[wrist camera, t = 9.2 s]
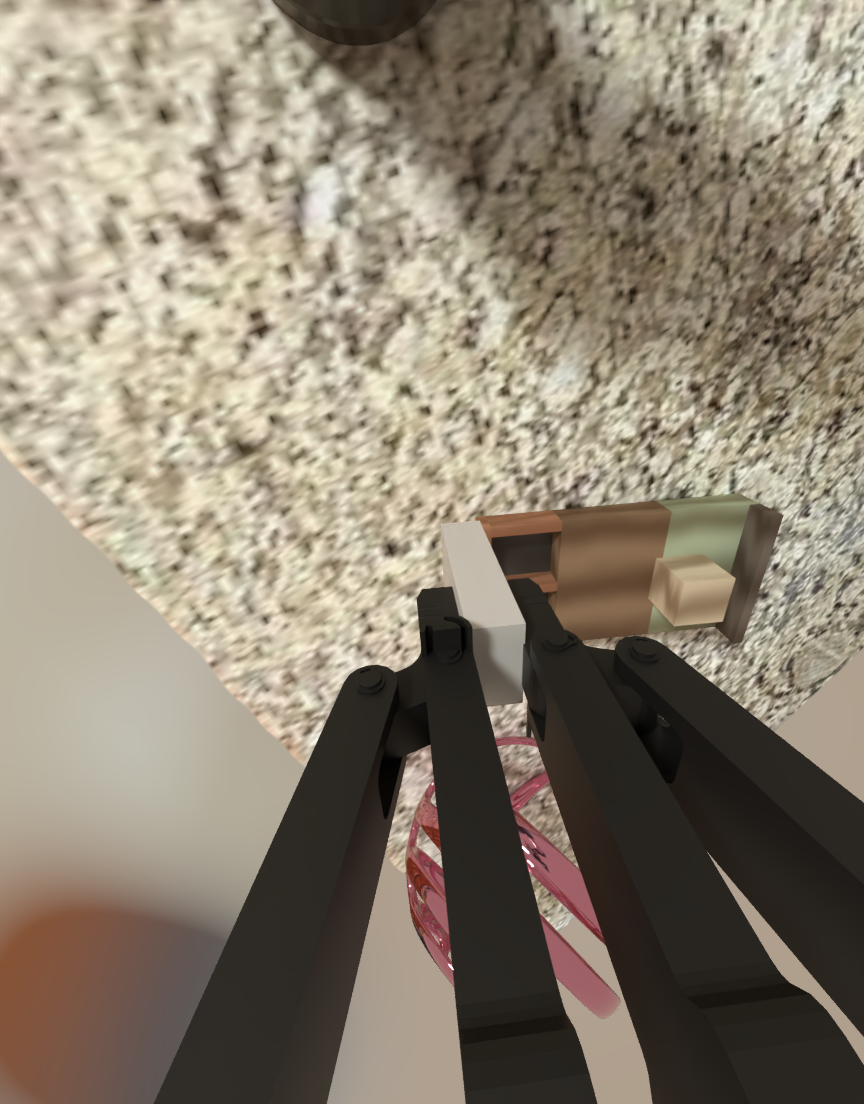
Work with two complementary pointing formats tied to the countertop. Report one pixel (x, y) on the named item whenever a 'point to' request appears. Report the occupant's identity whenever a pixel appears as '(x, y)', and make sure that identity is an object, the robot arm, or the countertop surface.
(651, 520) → the board
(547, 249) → the countertop surface
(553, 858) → the spiral basket
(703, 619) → the maple block
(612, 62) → the countertop surface
